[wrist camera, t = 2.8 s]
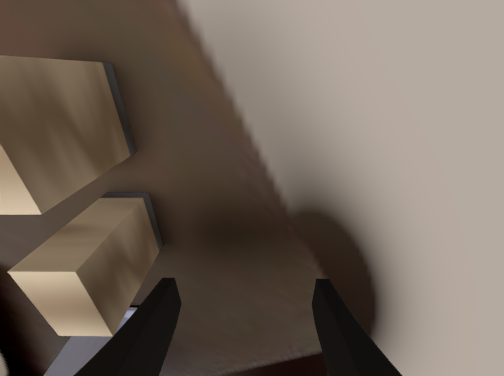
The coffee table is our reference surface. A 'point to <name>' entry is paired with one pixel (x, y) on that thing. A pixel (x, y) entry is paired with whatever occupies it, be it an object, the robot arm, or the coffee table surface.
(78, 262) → the beech tile
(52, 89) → the beech tile
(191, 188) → the coffee table surface
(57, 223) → the coffee table surface
